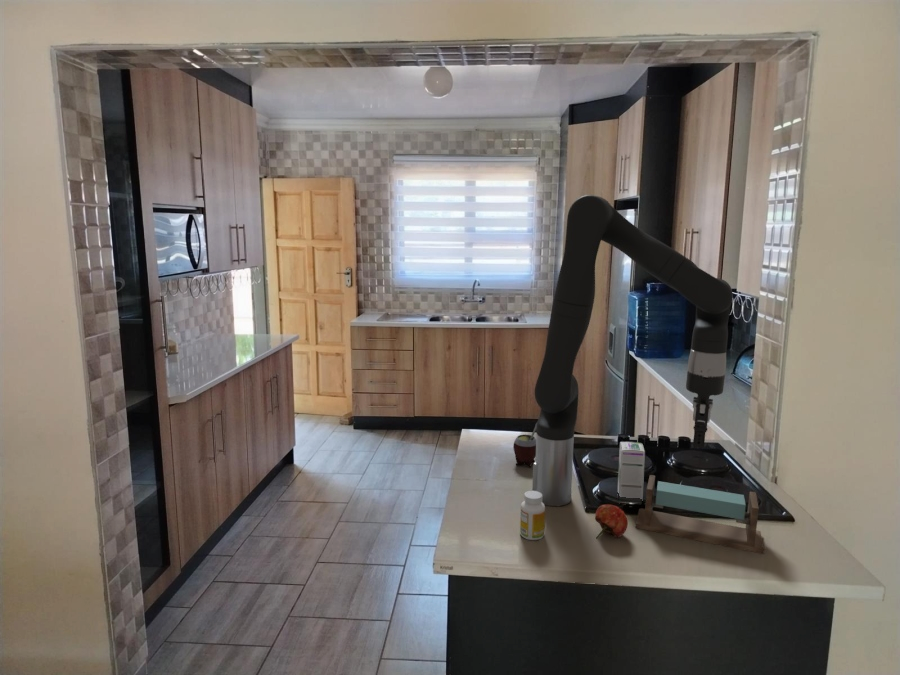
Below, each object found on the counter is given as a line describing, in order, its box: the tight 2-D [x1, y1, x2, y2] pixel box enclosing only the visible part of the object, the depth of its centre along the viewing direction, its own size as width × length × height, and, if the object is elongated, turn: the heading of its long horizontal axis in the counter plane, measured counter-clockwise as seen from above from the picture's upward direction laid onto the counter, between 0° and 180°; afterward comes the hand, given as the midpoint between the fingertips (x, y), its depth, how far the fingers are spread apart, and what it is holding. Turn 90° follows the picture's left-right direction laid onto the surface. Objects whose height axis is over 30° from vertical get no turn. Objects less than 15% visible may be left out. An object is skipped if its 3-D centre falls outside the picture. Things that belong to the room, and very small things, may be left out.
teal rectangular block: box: [655, 480, 747, 520], centre depth 128 cm, size 18×5×4 cm, turn 67°
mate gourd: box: [512, 422, 537, 469], centre depth 165 cm, size 8×8×15 cm
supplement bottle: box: [519, 490, 546, 541], centre depth 127 cm, size 5×5×10 cm
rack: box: [635, 474, 765, 554], centre depth 129 cm, size 26×8×10 cm, turn 66°
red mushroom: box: [594, 503, 629, 539], centre depth 128 cm, size 7×7×10 cm
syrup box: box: [617, 441, 646, 500], centre depth 143 cm, size 6×6×14 cm
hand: (698, 440), depth 128 cm, fingers open, 8 cm apart
